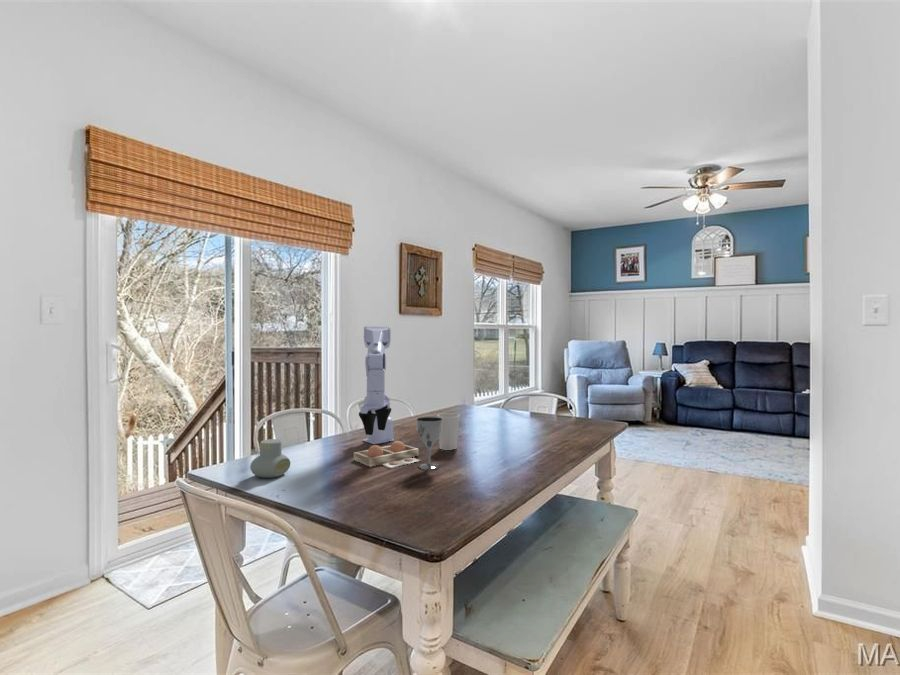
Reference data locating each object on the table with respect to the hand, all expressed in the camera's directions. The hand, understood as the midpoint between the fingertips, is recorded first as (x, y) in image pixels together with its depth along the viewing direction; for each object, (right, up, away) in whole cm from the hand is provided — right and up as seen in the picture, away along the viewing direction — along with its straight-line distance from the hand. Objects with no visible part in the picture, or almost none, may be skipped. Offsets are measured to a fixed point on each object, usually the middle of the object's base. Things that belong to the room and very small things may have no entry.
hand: (375, 432), depth 154 cm
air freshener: (-28, -10, -16) cm, 34 cm away
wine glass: (+18, -10, -7) cm, 21 cm away
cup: (+24, -9, +17) cm, 30 cm away
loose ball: (0, -7, 0) cm, 7 cm away
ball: (+7, -7, +6) cm, 11 cm away
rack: (+5, -9, +1) cm, 11 cm away
